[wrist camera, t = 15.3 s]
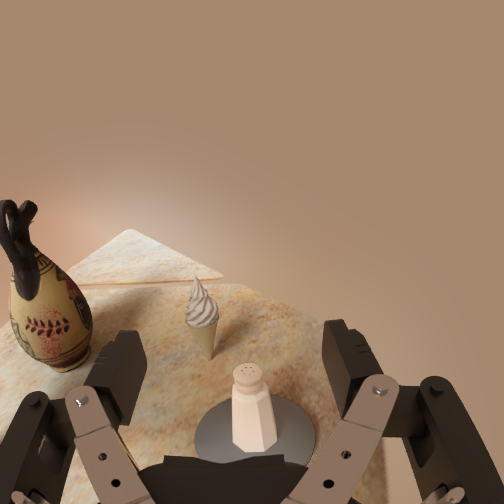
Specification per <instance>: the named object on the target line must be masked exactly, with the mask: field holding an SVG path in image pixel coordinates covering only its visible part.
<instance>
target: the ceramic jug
mask: <svg viewBox="0 0 504 504" xmlns="http://www.w3.org/2000/svg"><path fill="white" fill-rule="evenodd" d="M37 210H38V208H37V205H36V204H34V203H33V202H31V201H30V200H26V201H24V203H23V204H21V206H20V208H19V209H18V208H17V205H16V203H15V202H14V201H12V200H1V201H0V243H1V245H2V247H3V249H4V250H5V252H6V254H7V255H8V258H9V260H10V262H11V263H12V265H13V273H12V278H11V285H10V293H9V314H10V321H11V325H12V328H13V331H14V334H15V336H16V339H17V340H18V342H19V344H20V346H21V347H22V348H23V349H24V351H25V352H26V353H27V354H28V355H30V356H31V357H32V358H34V359H35V360H37V361H40V362H42V363H45V364H47V365H49V366H50V367H51V368H52V369H54V370H55V371H58V372H65V371H67V370H70V369H73V368H75V367H77V366H78V365H79V364H81V363H82V362H84V361H85V360H86V359H87V357H88V355H89V353H90V349H91V347H90V346H89V342H90V339H91V335H92V327H93V323H92V315H91V311H90V307H89V305H88V303H87V301H86V299H85V297H84V296H83V294H82V292H81V291H80V289H79V288H78V286H77V285H76V284H75V282H74V281H73V280H72V279H71V278H70V277H69V276H68V275H67V274H66V273H65V272H64V271H62V270H61V269H60V268H59V267H58V266H57V265H56V264H55V263H54V262H52V260H50V259H49V258H48V257H46V256H45V255H44V254H42V253H41V252H40V251H39V250H38V248H36V247H35V246H34V245H33V244H32V243H31V241H30V236H29V228H28V227H29V225H30V223H31V220H32V219H33V218H34V216H35V214H36V212H37ZM6 214H7V216H8V220H9V230H8V227H7V223H6V216H5V215H6Z"/></svg>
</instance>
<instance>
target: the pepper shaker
mask: <svg viewBox="0 0 504 504" xmlns="http://www.w3.org/2000/svg"><path fill="white" fill-rule="evenodd" d="M233 377H234V379H235V384H234V385H233V388H232V432H233V443H234V444H235V445H237V446H238V447H239V448H240V449H242V450H243V451H244V452H265V451H266V450H267V449H268V448H270V447H271V446H272V445H273V444H274V443H275V442H277V430H276V423H275V418H274V414H273V409H272V404H271V399H270V394H269V389H268V385H267V383H265V382H263V369H262V368H261V367H260V366H259V365H257V364H255V363H243V364H240V365H239V366H237V367H236V368H235V369H234V371H233Z"/></svg>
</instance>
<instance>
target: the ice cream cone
mask: <svg viewBox="0 0 504 504" xmlns="http://www.w3.org/2000/svg"><path fill="white" fill-rule="evenodd" d="M190 294H191V295H190V300H189V301H190V302H189V303H188V304H186V305H185V307H188V310H187V311H185V314H187V317H186V319H185V322H186V324H187V325H188V326H189V327H190V329H191V331H192V333H193V335H194V336H195V338H196V340H197V342H198V343H199V345H200V347H201V348H202V350H203V352H204V353H205V355H206V357H207V358H208V360H211V358H212V352H213V346H214V340H215V334H216V328H217V322H218V319H219V314H218V306H217V303H216V302H215V301H214V300H213V299H212V298H210V297H209V296H208V293H207V290H206V289H205V288H203V286H202V285H201V283H200V281H199V280H198V278H197V277H196V276H195V280H194V283H193V287H192V290H191V291H190Z"/></svg>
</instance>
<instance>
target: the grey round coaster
mask: <svg viewBox="0 0 504 504" xmlns="http://www.w3.org/2000/svg"><path fill="white" fill-rule="evenodd" d="M270 399H271V404H272V409H273V414H274V418H275V423H276V430H277V442H275V443H274V444H273V445H272V446H271V447H270V448H268V449H267V450H266V451H265V452H244V451H243V450H242V449H240V448H239V447H238V446H237V445H235V444H234V443H233V432H232V398H230V399H227V400H225V401H223V402H221V403H219V404H218V405H216V406H214V407H213V408H212V409H211V410H209V411H208V412H207V413H206V414H205V415H204V417H203V418H202V419H201V421H200V423H199V425H198V427H197V430H196V433H195V448H196V451H197V454H198V457H199V459H203V460H207V461H212V462H216V463H228V462H233V461H237V460H241V459H245V458H249V457H253V456H266V455H278V454H284V460H285V462H292V463H297V464H300V465H304V466H306V465H307V464H308V462H309V461H310V459H311V456H312V454H313V450H314V444H315V429H314V426H313V423H312V421H311V419H310V417H309V416H308V415H307V413H306V412H305V411H304V410H303V409H302V408H301V407H299V406H298V405H297V404H295V403H293V402H292V401H290V400H288V399H285V398H282V397H279V396H275V395H270Z"/></svg>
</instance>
